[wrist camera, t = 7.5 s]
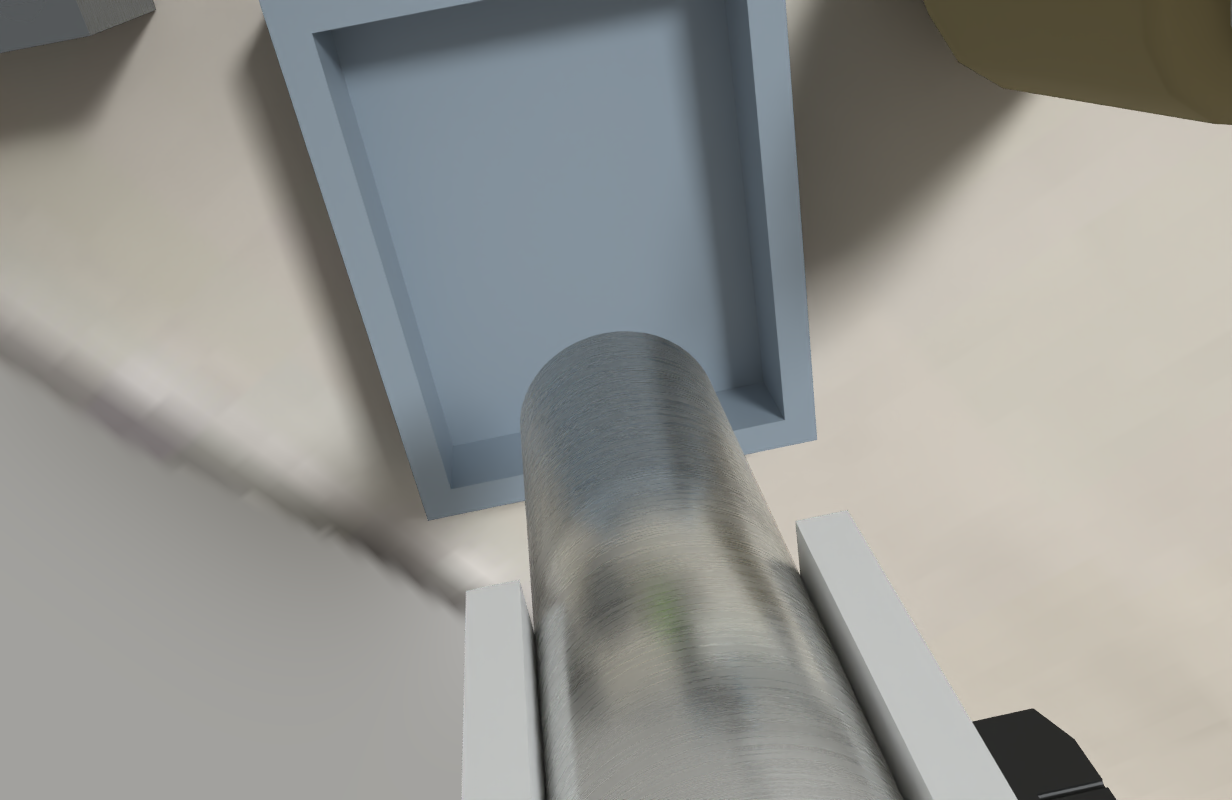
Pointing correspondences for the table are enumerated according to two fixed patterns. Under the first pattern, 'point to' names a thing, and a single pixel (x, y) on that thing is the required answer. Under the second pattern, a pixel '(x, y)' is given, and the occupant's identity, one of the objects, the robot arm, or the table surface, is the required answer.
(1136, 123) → the table surface
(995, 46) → the squeeze bottle
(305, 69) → the parts tray
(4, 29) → the grey boxy piece
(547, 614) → the glass jar with lid
